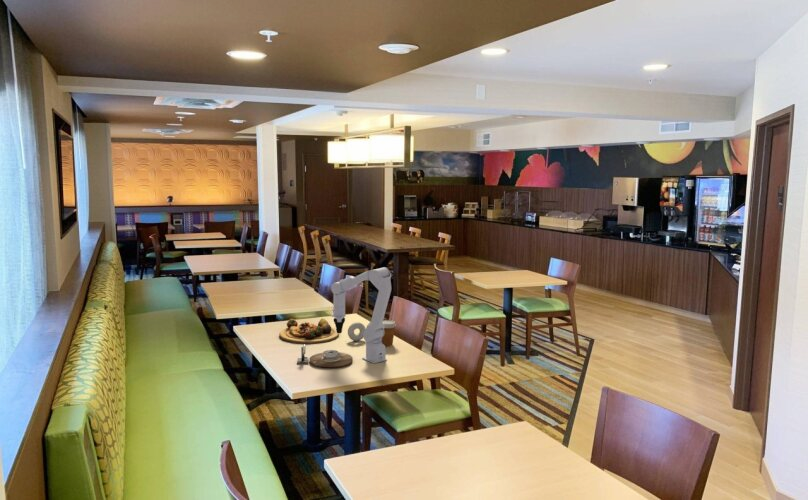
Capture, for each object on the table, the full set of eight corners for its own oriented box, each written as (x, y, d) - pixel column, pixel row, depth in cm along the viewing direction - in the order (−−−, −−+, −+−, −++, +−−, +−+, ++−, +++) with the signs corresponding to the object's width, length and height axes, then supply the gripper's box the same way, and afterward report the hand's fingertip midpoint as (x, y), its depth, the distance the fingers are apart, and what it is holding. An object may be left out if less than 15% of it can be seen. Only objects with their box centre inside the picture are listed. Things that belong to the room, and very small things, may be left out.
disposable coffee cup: (379, 347, 297) (379, 324, 295) (375, 342, 306) (375, 320, 304) (397, 346, 299) (398, 323, 298) (393, 341, 309) (393, 319, 307)
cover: (341, 359, 273) (341, 352, 272) (328, 361, 268) (328, 355, 268) (333, 355, 278) (333, 349, 278) (320, 357, 274) (320, 351, 273)
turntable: (361, 361, 272) (361, 359, 272) (324, 370, 260) (324, 368, 259) (336, 351, 288) (336, 349, 287) (301, 359, 275) (301, 357, 274)
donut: (364, 339, 312) (364, 320, 311) (366, 340, 309) (367, 322, 308) (346, 340, 308) (346, 322, 307) (348, 342, 305) (348, 323, 304)
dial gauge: (297, 364, 269) (297, 346, 268) (297, 360, 274) (297, 343, 273) (308, 363, 270) (308, 346, 269) (308, 360, 275) (308, 342, 274)
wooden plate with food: (268, 334, 318) (268, 320, 317) (317, 324, 340) (317, 311, 338) (300, 349, 295) (300, 333, 294) (350, 338, 316) (351, 323, 315)
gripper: (331, 302, 293) (331, 329, 295) (330, 309, 279) (330, 337, 281) (345, 302, 294) (345, 329, 296) (345, 309, 280) (345, 336, 282)
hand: (339, 332), depth 288 cm, fingers closed
